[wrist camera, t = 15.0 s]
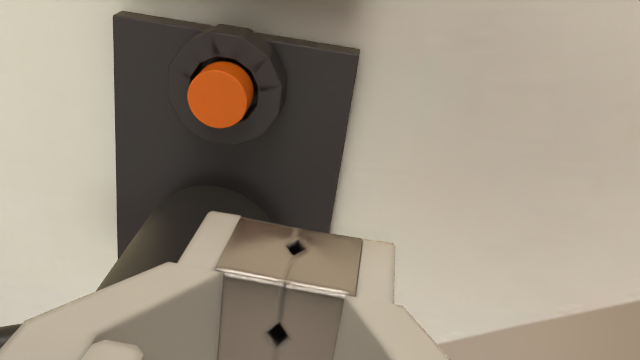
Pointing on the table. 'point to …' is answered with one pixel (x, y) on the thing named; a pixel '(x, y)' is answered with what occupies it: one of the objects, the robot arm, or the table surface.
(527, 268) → the table surface
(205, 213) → the kettle
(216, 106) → the button
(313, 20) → the table surface
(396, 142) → the table surface
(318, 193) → the button base
